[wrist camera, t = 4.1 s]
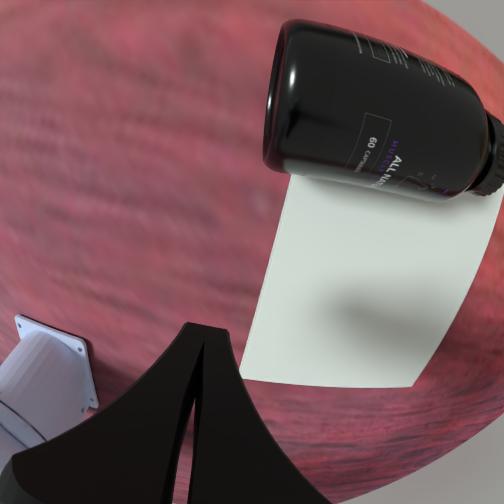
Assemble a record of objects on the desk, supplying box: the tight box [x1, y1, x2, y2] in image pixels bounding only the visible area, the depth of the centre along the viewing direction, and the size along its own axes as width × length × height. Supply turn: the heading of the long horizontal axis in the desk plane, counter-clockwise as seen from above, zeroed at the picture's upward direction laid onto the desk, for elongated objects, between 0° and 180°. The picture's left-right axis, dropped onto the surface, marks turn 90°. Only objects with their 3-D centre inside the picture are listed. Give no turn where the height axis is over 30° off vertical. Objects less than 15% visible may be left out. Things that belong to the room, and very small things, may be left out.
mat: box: [239, 174, 504, 388], centre depth 18 cm, size 20×16×1 cm
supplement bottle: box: [263, 19, 504, 202], centre depth 11 cm, size 7×7×12 cm
